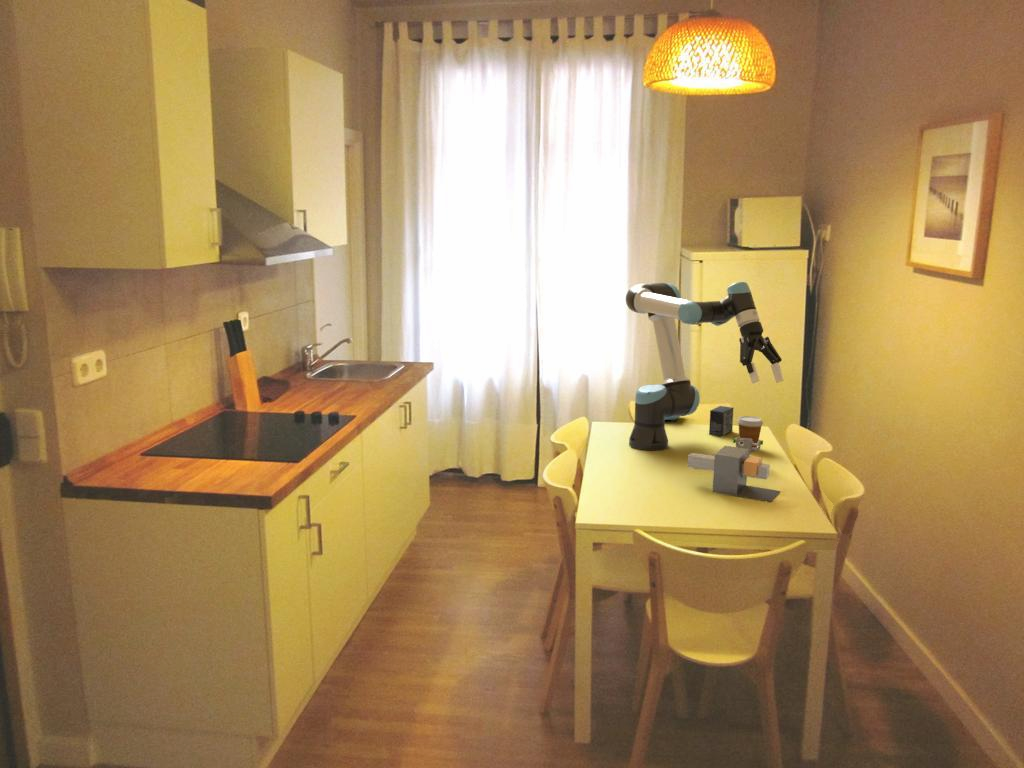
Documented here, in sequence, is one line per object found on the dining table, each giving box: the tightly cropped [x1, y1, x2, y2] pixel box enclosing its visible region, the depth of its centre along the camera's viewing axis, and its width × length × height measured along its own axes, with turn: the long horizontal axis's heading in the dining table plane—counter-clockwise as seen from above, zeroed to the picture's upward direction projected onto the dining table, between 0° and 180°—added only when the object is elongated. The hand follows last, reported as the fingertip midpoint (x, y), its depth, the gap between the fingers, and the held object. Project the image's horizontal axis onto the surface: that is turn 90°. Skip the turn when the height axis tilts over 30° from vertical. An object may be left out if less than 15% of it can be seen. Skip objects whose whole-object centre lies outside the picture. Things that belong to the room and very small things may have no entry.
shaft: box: [687, 452, 771, 480], centre depth 280 cm, size 26×4×4 cm, turn 61°
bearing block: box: [712, 445, 749, 498], centre depth 280 cm, size 8×12×13 cm, turn 151°
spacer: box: [743, 455, 763, 476], centre depth 276 cm, size 4×7×4 cm, turn 151°
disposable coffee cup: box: [737, 415, 764, 452], centre depth 328 cm, size 10×10×12 cm
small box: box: [708, 405, 734, 437], centre depth 351 cm, size 11×6×10 cm, turn 144°
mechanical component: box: [732, 436, 764, 457], centre depth 306 cm, size 3×10×10 cm, turn 78°
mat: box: [737, 484, 781, 503], centre depth 276 cm, size 12×12×1 cm
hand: (768, 381), depth 290 cm, fingers open, 13 cm apart
